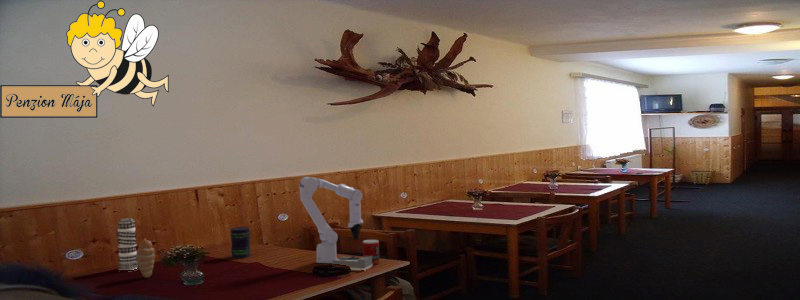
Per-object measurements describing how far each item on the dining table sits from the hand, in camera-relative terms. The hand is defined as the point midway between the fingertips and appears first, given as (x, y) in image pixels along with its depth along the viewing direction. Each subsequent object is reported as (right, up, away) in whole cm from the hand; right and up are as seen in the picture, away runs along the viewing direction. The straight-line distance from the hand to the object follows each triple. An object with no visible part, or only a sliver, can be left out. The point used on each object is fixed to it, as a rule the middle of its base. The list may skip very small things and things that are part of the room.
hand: (356, 239), depth 302 cm
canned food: (+8, -10, -14) cm, 19 cm away
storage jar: (-62, -11, +13) cm, 64 cm away
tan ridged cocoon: (-93, -13, -30) cm, 99 cm away
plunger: (+1, -8, -23) cm, 25 cm away
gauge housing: (0, -10, -22) cm, 24 cm away
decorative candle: (-110, -13, -12) cm, 112 cm away
